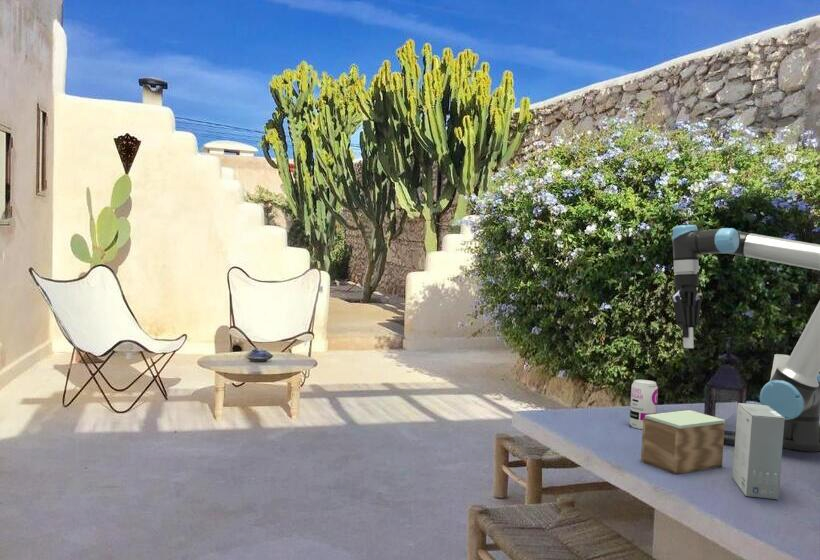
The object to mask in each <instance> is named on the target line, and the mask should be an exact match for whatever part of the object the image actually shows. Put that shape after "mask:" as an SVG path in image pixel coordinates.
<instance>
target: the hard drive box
mask: <svg viewBox="0 0 820 560" xmlns="http://www.w3.org/2000/svg"><path fill="white" fill-rule="evenodd" d="M736 409H737V410H736V421H735V437H734V451H733V462H732V463H733V464H732V479H733V480H734V482H735V483H736V484H737V485H738V487H739V488H740V490H741V492H742V493H743V494H744V496H745V497H746V496H747V497H755V498H761V499H772V500H779V498H780V497H779V496H780V485H781V473H782V472H781V471H782V458H783V447H782V446H783V433H784V421H785V418H784V417H783V416H781V415H780V414H779V413H777V412H776V411H774V410H773V409H772V408H770V407H769V406H767V405H761V404H757V403H756V404H755V403H754V404H753V403H744V402H742V403H741V402H738V403H737V408H736Z"/></svg>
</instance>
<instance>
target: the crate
mask: <svg viewBox="0 0 820 560" xmlns="http://www.w3.org/2000/svg"><path fill="white" fill-rule="evenodd" d="M725 426H726V422H725V423H721V424H713V425H705V426H698V427H690V428H682V429H679V428H676V427H673V426H669V425H666V424H663V423H660V422H656V421H653V420H650V419H647V418H643V430H642V436H641V439H642V440H641V452H640V454H641V455H640V462H641V463H643V462H644V464H646V465H648V466H651V465H652V467H654V468H657V469H659V468H660V469H659V470H663V471H665V472H668V473H670V474H672V475H675V476H676V475H680V474H681V475H682V474H687V472H688V473H692V471H694V472H699V471H698V470H700V471H705V469H706V470H711V469H710V468H712V469H716V468H715V467H717V468H722V466H723V457H724V456H723V454H724V443H725V442H724V441H725V440H724V439H725Z"/></svg>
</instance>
